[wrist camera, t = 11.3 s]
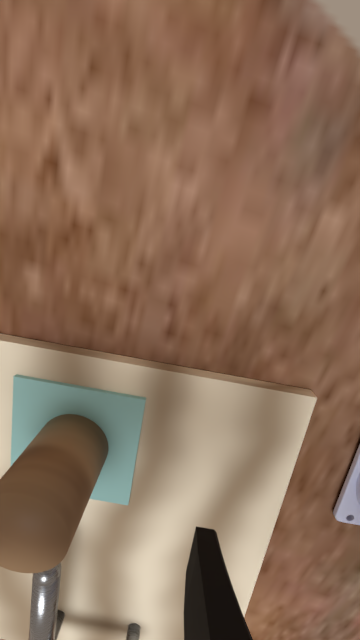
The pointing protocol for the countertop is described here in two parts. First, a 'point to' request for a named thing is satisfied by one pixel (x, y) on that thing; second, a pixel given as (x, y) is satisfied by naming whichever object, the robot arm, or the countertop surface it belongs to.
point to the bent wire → (53, 607)
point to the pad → (95, 404)
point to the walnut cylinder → (49, 493)
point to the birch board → (161, 489)
